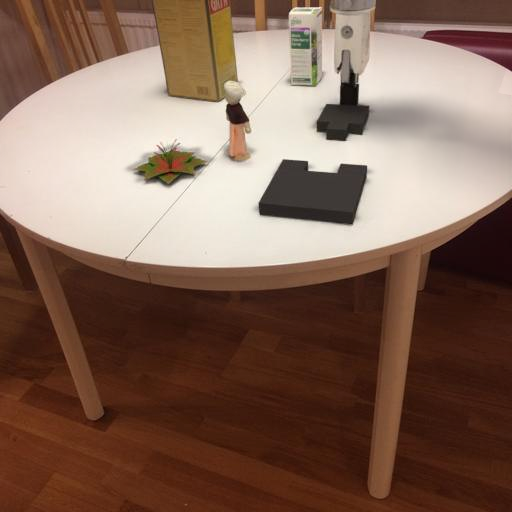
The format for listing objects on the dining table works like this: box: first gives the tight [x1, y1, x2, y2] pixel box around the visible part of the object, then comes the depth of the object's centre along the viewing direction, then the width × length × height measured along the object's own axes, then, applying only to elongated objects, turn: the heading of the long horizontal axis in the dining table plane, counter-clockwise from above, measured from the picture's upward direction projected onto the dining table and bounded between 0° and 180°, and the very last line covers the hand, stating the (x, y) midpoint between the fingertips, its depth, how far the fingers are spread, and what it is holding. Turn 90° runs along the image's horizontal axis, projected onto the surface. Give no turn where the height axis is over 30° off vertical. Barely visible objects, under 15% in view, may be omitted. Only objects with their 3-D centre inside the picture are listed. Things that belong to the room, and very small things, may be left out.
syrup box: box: [288, 6, 323, 87], centre depth 109 cm, size 6×6×14 cm
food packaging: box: [151, 0, 239, 103], centre depth 106 cm, size 13×9×25 cm
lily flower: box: [131, 138, 210, 185], centre depth 85 cm, size 12×12×5 cm
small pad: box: [316, 103, 370, 141], centre depth 93 cm, size 8×11×2 cm
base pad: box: [257, 158, 368, 225], centre depth 76 cm, size 13×13×2 cm
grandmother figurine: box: [224, 81, 252, 162], centre depth 84 cm, size 8×4×13 cm, turn 40°
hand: (348, 105), depth 98 cm, fingers closed
